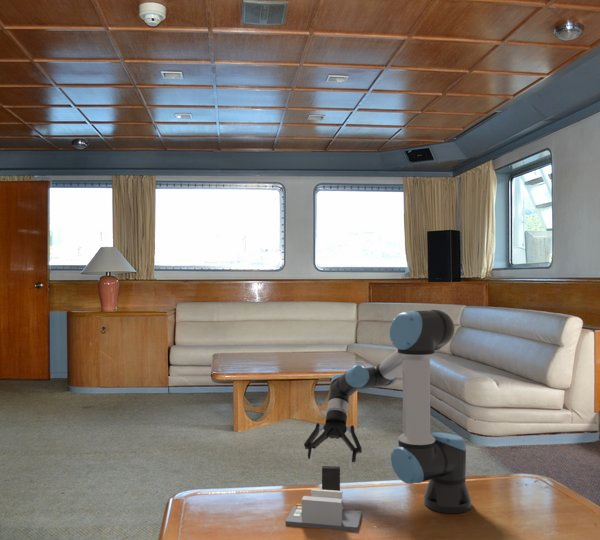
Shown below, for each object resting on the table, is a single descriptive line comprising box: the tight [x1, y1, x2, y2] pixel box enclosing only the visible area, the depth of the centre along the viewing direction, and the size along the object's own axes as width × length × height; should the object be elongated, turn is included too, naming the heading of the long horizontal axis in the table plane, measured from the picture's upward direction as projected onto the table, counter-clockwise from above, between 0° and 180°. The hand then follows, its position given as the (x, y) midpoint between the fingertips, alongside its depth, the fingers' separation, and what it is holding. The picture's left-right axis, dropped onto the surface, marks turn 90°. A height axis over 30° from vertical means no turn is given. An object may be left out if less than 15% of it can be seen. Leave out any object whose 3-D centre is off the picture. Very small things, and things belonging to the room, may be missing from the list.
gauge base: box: [285, 495, 363, 532], centre depth 189 cm, size 22×12×8 cm, turn 78°
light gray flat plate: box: [295, 488, 343, 507], centre depth 194 cm, size 15×1×6 cm, turn 78°
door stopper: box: [321, 465, 341, 491], centre depth 203 cm, size 9×6×12 cm, turn 175°
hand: (330, 469), depth 207 cm, fingers open, 13 cm apart
